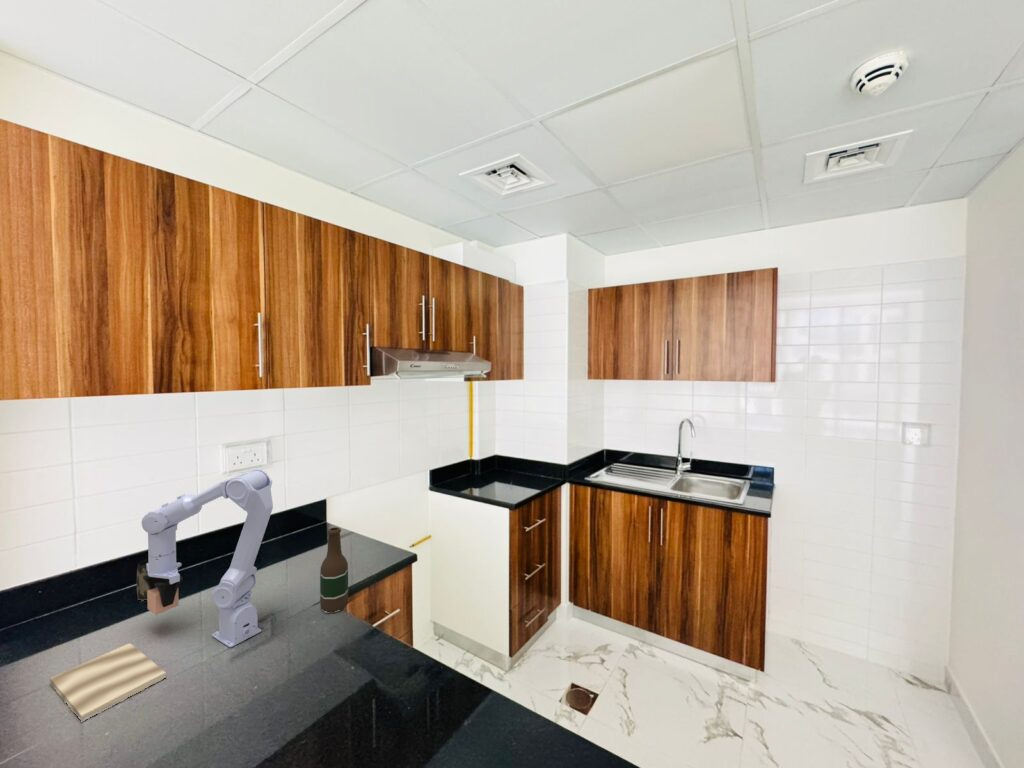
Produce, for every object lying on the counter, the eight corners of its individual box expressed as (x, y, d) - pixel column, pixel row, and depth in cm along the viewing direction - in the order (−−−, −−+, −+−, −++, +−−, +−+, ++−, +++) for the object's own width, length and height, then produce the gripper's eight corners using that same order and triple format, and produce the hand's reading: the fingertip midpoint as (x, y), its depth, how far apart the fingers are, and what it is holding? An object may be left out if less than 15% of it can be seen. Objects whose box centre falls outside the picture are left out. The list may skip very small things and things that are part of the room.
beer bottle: (320, 616, 121) (319, 535, 120) (320, 602, 128) (320, 526, 128) (348, 611, 124) (348, 531, 124) (347, 597, 132) (347, 522, 131)
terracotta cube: (178, 605, 114) (178, 587, 114) (155, 614, 110) (155, 596, 109) (170, 600, 116) (169, 582, 116) (147, 609, 112) (147, 590, 112)
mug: (143, 603, 127) (142, 564, 126) (132, 599, 129) (132, 560, 128) (172, 590, 134) (172, 553, 134) (162, 586, 136) (161, 550, 136)
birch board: (165, 678, 97) (165, 672, 97) (81, 722, 84) (81, 715, 84) (130, 648, 106) (129, 643, 106) (50, 684, 94) (49, 677, 94)
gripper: (192, 553, 112) (193, 602, 113) (167, 541, 119) (168, 588, 120) (160, 563, 106) (161, 615, 107) (136, 550, 113) (137, 599, 114)
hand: (163, 602), depth 113 cm, fingers closed on terracotta cube, 5 cm apart
